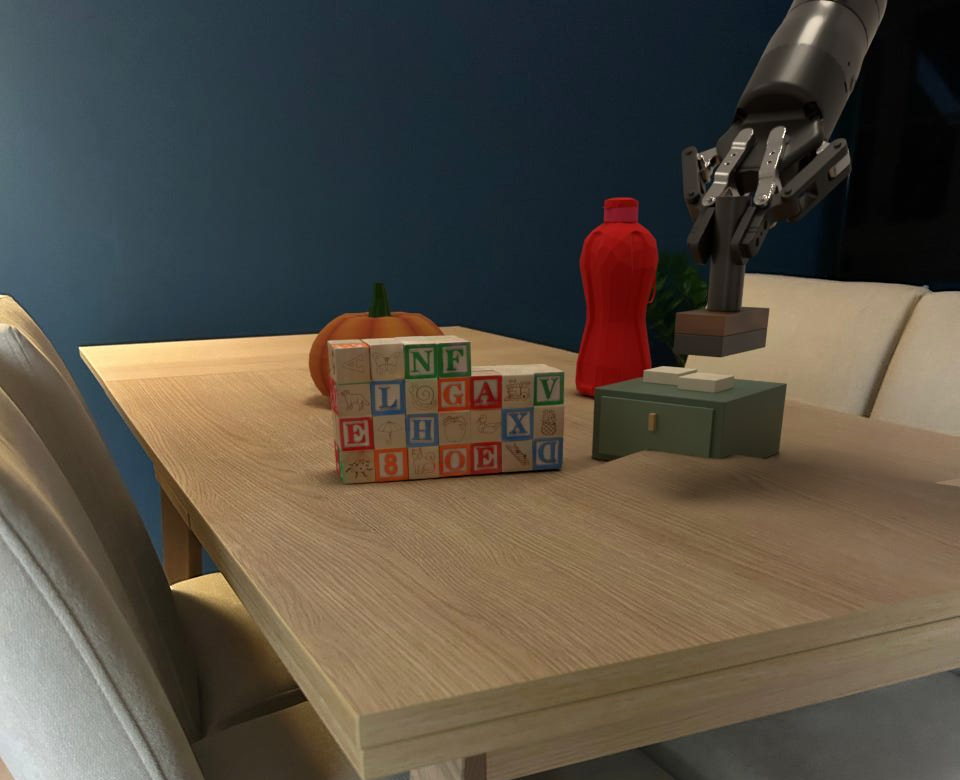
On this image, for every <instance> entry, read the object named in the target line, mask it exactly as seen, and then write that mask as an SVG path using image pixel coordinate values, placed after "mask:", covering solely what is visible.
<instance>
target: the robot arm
mask: <svg viewBox="0 0 960 780" xmlns="http://www.w3.org/2000/svg"><path fill="white" fill-rule="evenodd" d="M887 4H888V0H793V1H792V3H791V5H790V7H789V9H788V10H787V13H786V16H785V17H784V18H783V21H782V22H781V24H780V25H779V26H778V28H777V29H776V30H775V32H774V34H773V35H772V36H771V38H770V40H769V41H768V43H767V45H766V47H765V49H764V51H763V53H762V55H761V57H760V59H759V61H758V63H757V65H756V67H755V69H754V70H753V73H752V75H751V77H750V79H749V81H748V83H747V85H746V86H745V88H744V90H743V92H742V94H741V97H740V98H739V100H738V102H737V104H736V107H735V111H734V114H733V119H732V123H731V126H730V128H729V129H728V130H727V131H726V132H725V133H724V134H723V135H722V136H721V137H720V138H719V139H718V140H717V143H716V146H715V147H712V148H710V149H707V150H703V151H701V152H698V149H697V147H696V146H693V145H692V146H691V145H690V146H688V147H686V148H685V149H683V150H682V152H681V171H682V173H681V174H682V189H683V198H684V202H685V204H686V206H687V207H686V208H687V209H688V212H689V215H690V218H691V221H692V222H693V226H692V228H691V230H690V232H689V234H688V236H687V238H686V245H687V247H688V250H689V253H690V256H691V257H692V259H693V263H694V264H695V265H703V266H704V265H707V263H708V262H709V259H710V258H711V252H712V240H713V228H714V215H715V203H716V197H718V196H750V194H751V193H754V192H755V194H754V196H753V199H752V202H753V206H751V207H747V209H746V211H745V213H744V215H743V217H742V219H741V221H740V223H739V225H738V228H737V230H736V232H735V234H734V236H733V238H732V240H731V242H730V253H731V256H732V259H733V262H734V264H735V265H747V263H748V262H749V260H750V259H753V258H754V257H756V256H757V254H758V253H759V251H760V248H761V247H762V245H763V242H764V241H765V238H766V237H767V234H768V232H769V230H771V229H772V228H774V227H775V226H776V225H777V223H778V222H780V221H784V220H786V222H787V223H790V224H795V223H797V222H799V221H801V220H802V219H803V218H804V217H805V216H806V215H807V214H808V213H810V211H811V210H813V208H814V207H816V205H818V204H819V203H820V202H821V201H822V200H823V199H824V198H825V197H826V196H828V195H829V194H830V193H831V192H832V190H834V189H835V188H836V187H837V186H838V185H839V184H840V183H841V182H842V181H844V180H845V178H846V177H848V176H849V175H850V174H851V173H852V170H853V169H852V164H851V156H850V151H849V148H848V143H847V139H846V138H837V139H834V140H833V141H831V142H829V139H830V138H831V135H832V134H833V132H834V129H835V127H836V125H837V122H838V121H839V119H840V117H841V115H842V112H843V110H844V108H845V106H846V105H847V102H848V100H849V97H850V95H851V94H852V92H853V91H854V89H855V86H856V83H857V80H858V78H859V75H860V72H861V68H862V64H863V62H864V59H865V56H866V55H867V52H868V50H869V48H870V46H871V44H872V41H873V39H874V37H875V35H876V33H877V31H878V29H879V27H880V24H881V22H882V20H883V18H884V16H885V12H886V9H887ZM717 166H718V167H717ZM716 167H717V169H716V171H715V172H714V169H715V168H716ZM713 172H714V176H713V182H712V184H711V185H710V187H709V188H708V190H707V189H706V184H709V183H711V181H712V180H711V176H712V175H713ZM803 192H804V193H803ZM802 193H803V194H802ZM801 194H802V195H801ZM800 195H801V197H799V196H800Z"/></svg>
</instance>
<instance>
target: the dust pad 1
mask: <svg viewBox="0 0 960 780" xmlns="http://www.w3.org/2000/svg"><path fill="white" fill-rule="evenodd" d="M697 372H698V369H697V368H688V367H677V366H665V365H661V366H658V367H653V368H652V367H651V369H648V370H644V376H643V382H646V383H656V384H665V385H675V386H678V377H680V376H684V375H689V374H693V373H697Z"/></svg>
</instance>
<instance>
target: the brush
mask: <svg viewBox="0 0 960 780" xmlns="http://www.w3.org/2000/svg"><path fill="white" fill-rule="evenodd" d="M752 202H753V196H751V195H748V196H718V197H716V203H715V215H714V228H713V240H712V252H711V255H710V264H709V265H710V266H709V278H708V289H707V302H706V308H699V309H693V310H686V311H678V312H676V313H675V322H674V338H673V339H674V340H673V354H674V355H685V356H697V357H709V358H725V357H729V356H734V355H738V354H742V353H746V352H750V351H755V350H759V349H763V348H766V345H767V337H768V327H769V316H770V307H755V306H743V297H744V285H745V276H746V275H745V274H746V265H747V264H746V265H735V264H734V262H733V259H732V256H731V253H730V242H731V240H732V238H733V236H734V234H735V232H736V230H737V228H738V225H739V223H740V221H741V219H742V217H743V215H744V213H745V211H746V209H747V207H752V204H753V203H752Z"/></svg>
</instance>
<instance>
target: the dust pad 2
mask: <svg viewBox="0 0 960 780" xmlns="http://www.w3.org/2000/svg"><path fill="white" fill-rule="evenodd" d="M734 379H735V375H734V374H733V375H732V374H722V373H721V374H720V373H712V372H711V373H710V372H699V371H697V373H693V374H689V375H684V376H680V377H678V389H680V390H690V391H699V392H709V393H717V392H720V391H724V390H727V389H731V388H733V384H734Z"/></svg>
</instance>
